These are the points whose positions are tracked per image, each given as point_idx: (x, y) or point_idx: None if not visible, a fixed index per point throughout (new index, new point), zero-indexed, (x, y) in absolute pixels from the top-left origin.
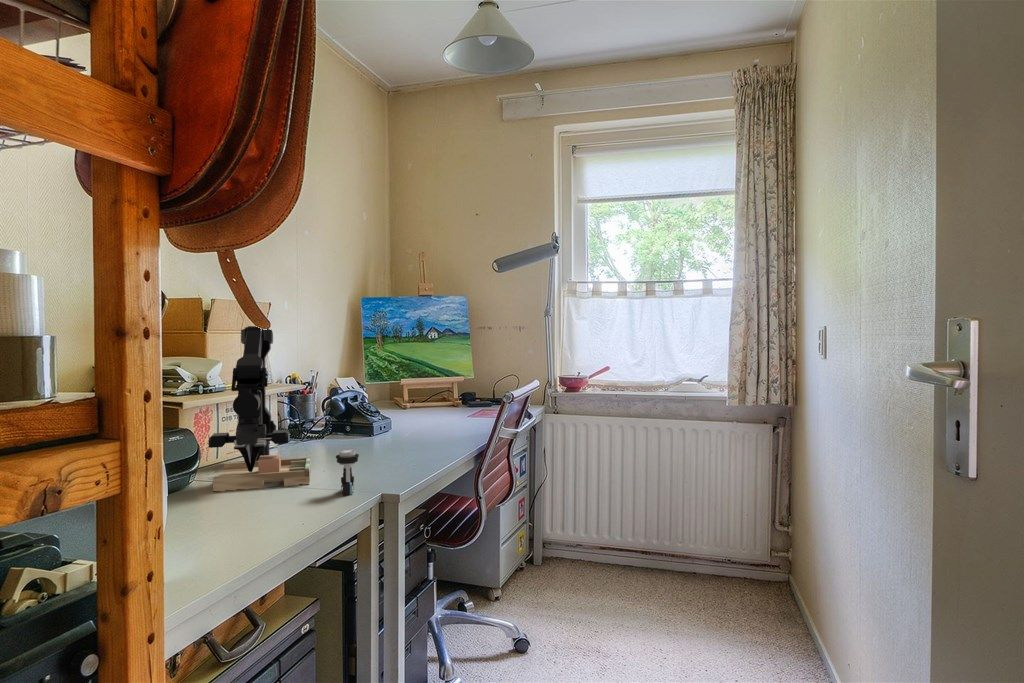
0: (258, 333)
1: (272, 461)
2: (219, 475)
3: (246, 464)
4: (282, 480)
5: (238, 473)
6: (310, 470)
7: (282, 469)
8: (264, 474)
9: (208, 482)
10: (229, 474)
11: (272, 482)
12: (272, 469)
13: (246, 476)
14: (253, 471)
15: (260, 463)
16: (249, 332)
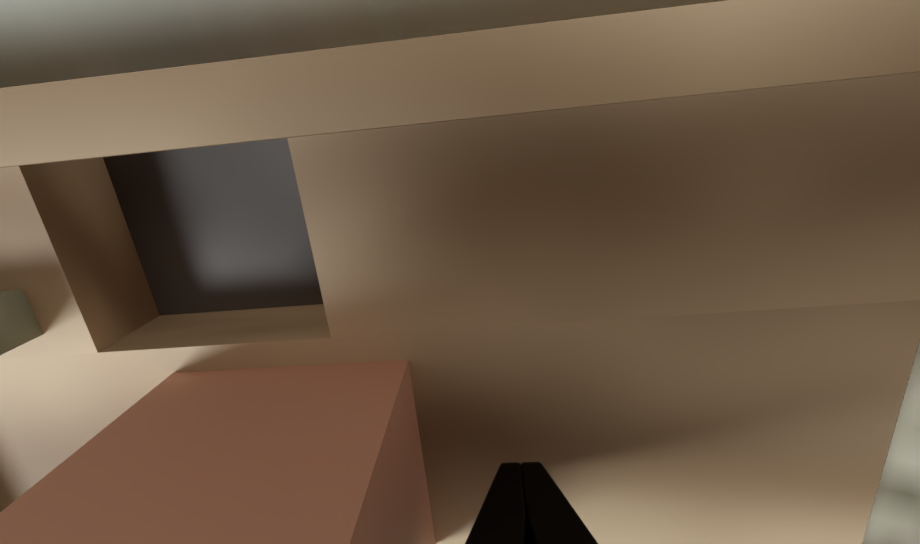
0: None
1: (115, 504)
2: (883, 461)
3: (589, 540)
4: (182, 316)
5: (662, 494)
6: None
7: None
8: (190, 68)
9: (917, 456)
10: (764, 477)
11: (269, 280)
12: (209, 405)
13: (496, 29)
14: None
15: (330, 477)
16: None
